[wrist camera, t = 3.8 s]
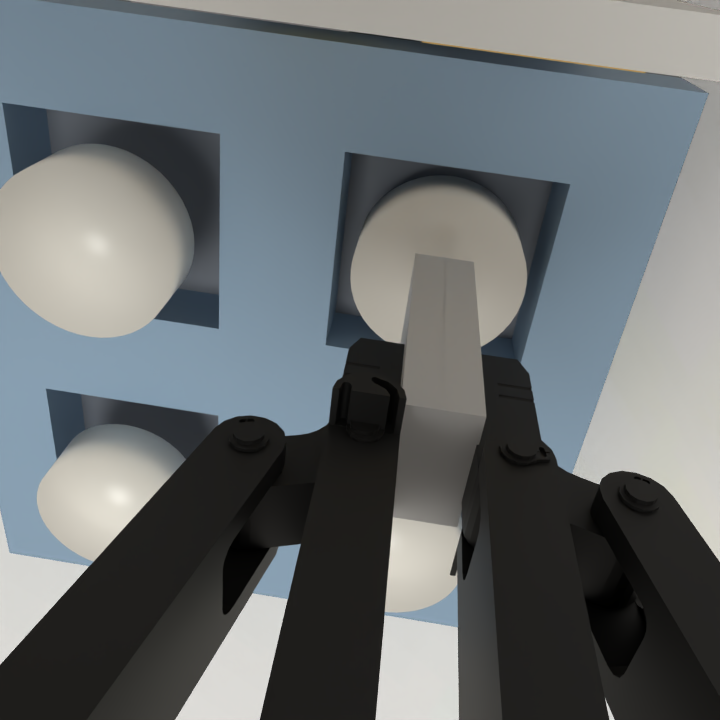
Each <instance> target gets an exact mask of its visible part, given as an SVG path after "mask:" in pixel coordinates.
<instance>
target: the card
mask: <svg viewBox="0 0 720 720" xmlns="http://www.w3.org/2000/svg"><path fill="white" fill-rule="evenodd" d="M128 1H131V3H139V4H146V5H153V6H160V7H168V8H175V9H182V10H190V11H197V12H204V13H211V14H219V15H226V16H233V17H240V18H248V19H255V20H262V21H269V22H277V23H284V24H291V25H298V26H306V27H313V28H320V29H327V30H335V31H342V32H349V31H353V32H360V33H367V34H375V35H382V36H389V37H396V38H404V39H411V40H418V41H422V43H429V44H436V45H443V46H451V47H458V48H465V49H472V50H480V51H487V52H494V53H501V54H509V55H516V56H523V57H530V58H538V59H545V60H552V61H559V62H567V63H574V64H581V65H588V66H596V67H603V68H610V69H617V70H625V71H632V72H639V73H645V72H650V73H658V74H665V75H672V76H679V77H687V78H694V79H701V80H708V81H716V82H720V11H719V10H715V9H711V8H707V7H703V6H699V5H695V4H690V3H686V2H682V1H678V0H128Z"/></svg>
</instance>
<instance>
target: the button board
mask: <svg viewBox="0 0 720 720" xmlns="http://www.w3.org/2000/svg"><path fill="white" fill-rule="evenodd" d="M708 94H709V93H707V92H705V91H703V90H702V89H700V88H698V87H696V86H695V85H693V84H691V83H689V82H688V81H686V80H684V79H682V78H681V77H679V76H672V75H665V74H658V73H650V72H645V73H639V72H632V71H625V70H617V69H610V68H603V67H596V66H588V65H581V64H574V63H567V62H559V61H552V60H545V59H538V58H530V57H523V56H516V55H509V54H501V53H494V52H487V51H480V50H472V49H465V48H458V47H451V46H443V45H436V44H429V43H422V41H418V40H411V39H404V38H396V37H389V36H382V35H375V34H367V33H360V32H353V31H349V32H342V31H335V30H327V29H320V28H313V27H306V26H298V25H291V24H284V23H277V22H269V21H262V20H255V19H248V18H240V17H233V16H226V15H219V14H211V13H204V12H197V11H190V10H182V9H175V8H168V7H160V6H153V5H146V4H139V3H131V1H128V0H0V189H1V188H2V187H3V185H4V184H5V183H6V182H7V181H8V180H9V179H10V178H12V177H13V176H14V175H15V174H17V173H19V172H21V171H22V170H24V169H26V168H28V167H30V166H31V165H33V164H35V163H37V162H39V161H41V160H43V159H45V158H46V157H48V156H50V155H52V154H54V153H56V152H58V151H60V150H62V149H65V148H67V147H70V146H74V145H79V144H91V143H92V144H104V145H109V146H113V147H117V148H120V149H123V150H126V151H128V152H130V153H132V154H134V155H136V156H138V157H140V158H142V159H143V160H145V161H146V162H148V163H149V164H151V165H152V166H153V167H154V168H156V169H157V170H158V171H159V172H160V173H161V174H162V175H163V176H164V177H165V178H166V179H167V180H168V181H169V182H170V183H171V185H172V186H173V187H174V188H175V190H176V191H177V193H178V194H179V196H180V197H181V199H182V201H183V203H184V205H185V207H186V209H187V211H188V214H189V217H190V220H191V223H192V228H193V232H194V256H193V261H192V265H191V267H190V270H189V273H188V274H187V276H186V278H185V280H184V281H183V283H182V284H181V285H180V286H179V288H178V289H177V290H176V292H175V293H174V294H173V295H172V297H171V298H170V299H169V301H168V302H167V303H166V304H165V306H164V307H163V308H162V309H161V311H160V312H159V313H158V315H157V316H156V317H155V318H154V319H153V320H152V321H151V322H150V323H149V324H147V325H146V326H144V327H143V328H141V329H139V330H137V331H135V332H133V333H130V334H127V335H123V336H118V337H111V338H97V337H88V336H84V335H79V334H75V333H72V332H69V331H66V330H64V329H62V328H60V327H57V326H55V325H54V324H52V323H50V322H48V321H46V320H45V319H43V318H42V317H40V316H39V315H38V314H36V313H35V312H34V311H32V310H31V309H30V308H29V307H28V306H27V305H25V304H24V303H23V302H22V300H21V299H20V298H19V297H18V296H17V295H16V294H15V293H14V291H13V290H12V289H11V288H10V287H9V285H8V283H7V282H6V280H5V279H4V277H3V276H2V274H1V272H0V510H1V515H2V520H3V524H4V529H5V533H6V538H7V542H8V547H9V552H10V553H14V554H20V555H26V556H32V557H38V558H44V559H50V560H56V561H62V562H68V563H74V564H80V565H86V566H90V565H91V564H92V563H93V561H91V560H88V559H86V558H84V557H82V556H80V555H78V554H76V553H75V552H73V551H71V550H70V549H69V548H67V547H66V546H65V545H63V544H62V543H61V542H60V541H59V540H58V539H57V538H56V537H55V536H54V535H53V534H52V533H51V532H50V530H49V529H48V528H47V527H46V525H45V523H44V522H43V520H42V518H41V515H40V513H39V510H38V506H37V491H38V487H39V484H40V482H41V480H42V479H43V477H44V476H45V475H46V473H47V472H48V471H49V469H50V468H51V467H52V465H53V464H54V463H55V462H56V460H57V459H58V458H59V456H60V455H61V454H62V452H63V451H64V450H65V448H66V447H67V446H68V444H69V443H70V442H71V441H72V439H73V438H74V437H75V436H77V435H78V434H79V433H81V432H82V431H84V430H86V429H88V428H91V427H94V426H98V425H105V424H122V425H129V426H133V427H137V428H140V429H144V430H146V431H149V432H151V433H153V434H155V435H157V436H159V437H161V438H162V439H164V440H165V441H167V442H168V443H170V444H171V445H172V446H173V447H175V448H176V449H177V450H178V451H179V452H180V453H181V454H182V455H183V456H184V458H185V459H187V458H188V457H189V456H190V455H191V453H192V452H193V451H194V450H195V449H196V448H197V447H198V446H199V445H200V443H201V442H202V441H203V440H204V439H205V438H206V437H207V436H208V435H209V434H210V432H211V431H212V430H213V429H214V428H215V427H216V426H218V425H219V424H220V423H222V422H223V421H224V420H227V419H231V418H234V417H237V416H249V415H252V416H258V417H263V418H267V419H269V420H271V421H273V422H275V423H277V424H278V425H279V426H280V427H281V428H282V430H283V431H284V433H285V436H290V435H301V434H308V433H311V432H314V431H317V430H319V429H321V428H322V427H324V426H326V425H327V424H328V423H329V415H330V406H331V397H332V388H333V386H334V384H335V383H336V381H337V380H338V379H340V378H342V376H343V372H344V368H345V364H346V359H347V355H348V350H349V348H350V347H351V346H352V345H353V344H354V343H355V342H357V341H358V340H359V339H360V338H367V339H373V340H380V341H384V340H383V339H382V338H381V337H379V336H378V335H377V334H376V333H375V332H374V331H373V330H372V329H371V328H370V327H369V326H368V325H367V323H366V322H365V321H364V319H363V318H362V316H361V314H360V312H359V311H358V309H357V306H356V304H355V301H354V298H353V294H352V290H351V280H350V276H351V265H352V260H353V256H354V253H355V249H356V246H357V243H358V239H359V236H360V233H361V230H362V227H363V224H364V222H365V220H366V218H367V216H368V214H369V213H370V212H371V210H372V209H373V207H374V206H375V205H376V204H377V203H378V202H379V200H380V199H381V198H383V197H384V196H385V195H386V194H387V193H388V192H390V191H391V190H393V189H394V188H396V187H398V186H399V185H402V184H404V183H406V182H408V181H411V180H414V179H417V178H421V177H426V176H436V175H445V176H455V177H460V178H464V179H467V180H470V181H473V182H475V183H477V184H479V185H481V186H483V187H485V188H486V189H488V190H489V191H490V192H492V193H493V194H494V195H495V196H496V197H498V198H499V199H500V200H501V201H502V203H503V204H504V205H505V206H506V207H507V209H508V210H509V212H510V214H511V215H512V217H513V219H514V221H515V224H516V226H517V229H518V233H519V237H520V241H521V245H522V249H523V253H524V257H525V261H526V268H527V285H526V290H525V295H524V298H523V301H522V304H521V306H520V308H519V310H518V312H517V314H516V316H515V317H514V318H513V320H512V321H511V323H510V324H509V325H508V326H507V327H506V328H505V330H504V331H503V332H501V333H500V334H499V335H498V336H497V337H496V338H494V339H493V340H491V341H490V342H488V343H487V344H485V345H483V346H481V354H484V355H490V356H497V357H504V358H510V359H517V360H518V361H519V362H520V363H521V364H522V366H523V367H524V368H525V369H526V370H527V372H528V373H529V375H530V381H531V386H532V390H531V391H532V392H533V397H534V403H535V408H536V413H537V419H538V424H539V430H540V435H541V440H542V441H543V442H544V443H545V444H546V445H547V446H549V447H550V448H551V449H552V451H553V453H554V455H555V457H556V459H557V464H558V466H559V467H561V468H562V469H564V470H565V471H567V472H569V473H571V474H572V472H573V469H574V466H575V463H576V461H577V458H578V455H579V452H580V450H581V447H582V444H583V441H584V438H585V436H586V433H587V430H588V427H589V425H590V422H591V419H592V416H593V413H594V411H595V408H596V405H597V402H598V400H599V397H600V394H601V391H602V388H603V386H604V383H605V380H606V377H607V375H608V372H609V369H610V366H611V363H612V361H613V358H614V355H615V352H616V349H617V347H618V344H619V341H620V338H621V336H622V333H623V330H624V327H625V324H626V322H627V319H628V316H629V313H630V311H631V308H632V305H633V302H634V299H635V297H636V294H637V291H638V288H639V286H640V283H641V280H642V277H643V274H644V272H645V269H646V266H647V263H648V261H649V258H650V255H651V252H652V249H653V247H654V244H655V241H656V238H657V235H658V233H659V230H660V227H661V224H662V222H663V219H664V216H665V213H666V210H667V208H668V205H669V202H670V199H671V197H672V194H673V191H674V188H675V185H676V183H677V180H678V177H679V174H680V172H681V169H682V166H683V163H684V160H685V158H686V155H687V152H688V149H689V146H690V144H691V141H692V138H693V135H694V133H695V130H696V127H697V124H698V121H699V119H700V116H701V113H702V110H703V108H704V105H705V102H706V99H707V96H708ZM461 518H462V511H461ZM300 545H301V544H298V545H289V546H280V547H278V550H277V553H276V555H275V557H274V559H273V560H272V562H271V564H270V565H269V567H268V568H267V570H266V572H265V573H264V575H263V577H262V578H261V580H260V582H259V583H258V585H257V586H256V588H255V590H254V591H253V593H255V594H261V595H267V596H273V597H279V598H285V599H288V597H289V592H290V588H291V584H292V579H293V575H294V571H295V566H296V562H297V558H298V553H299V549H300ZM384 615H388V616H394V617H400V618H406V619H412V620H418V621H424V622H430V623H436V624H442V625H448V626H454V627H458V594H457V586H456V587H455V588H454V590H453V591H452V592H451V593H450V594H449V595H448V596H447V597H445V598H444V599H442V600H441V601H439V602H438V603H436V604H434V605H432V606H429V607H426V608H424V609H420V610H416V611H410V612H398V613H395V612H385V614H384Z"/></svg>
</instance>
